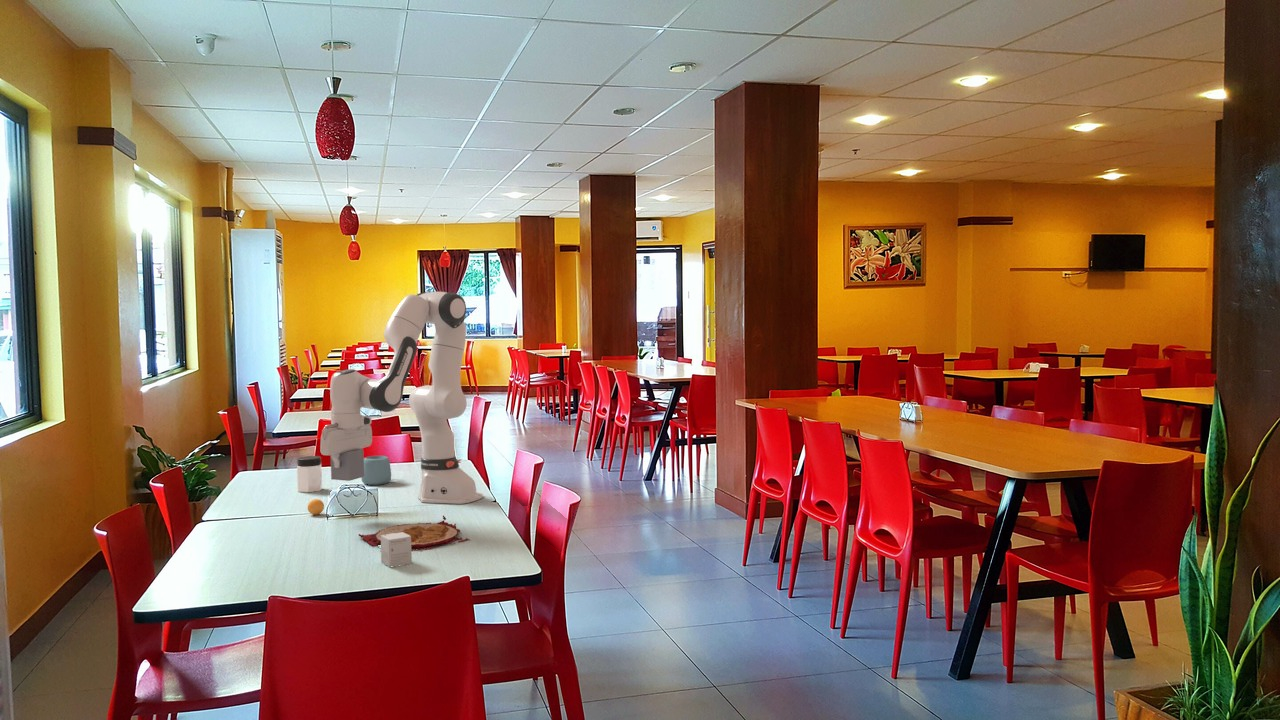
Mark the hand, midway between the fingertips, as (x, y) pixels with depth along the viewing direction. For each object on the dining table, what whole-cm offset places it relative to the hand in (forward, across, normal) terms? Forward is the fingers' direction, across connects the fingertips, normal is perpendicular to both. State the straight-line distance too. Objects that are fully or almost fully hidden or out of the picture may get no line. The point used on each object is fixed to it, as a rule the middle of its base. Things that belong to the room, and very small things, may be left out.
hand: (347, 465), depth 279 cm
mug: (+17, +51, +29) cm, 61 cm away
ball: (+14, 0, +13) cm, 19 cm away
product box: (+17, -36, -46) cm, 61 cm away
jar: (+17, +30, +43) cm, 55 cm away
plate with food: (+18, -14, -37) cm, 43 cm away
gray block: (+4, 0, 0) cm, 4 cm away
